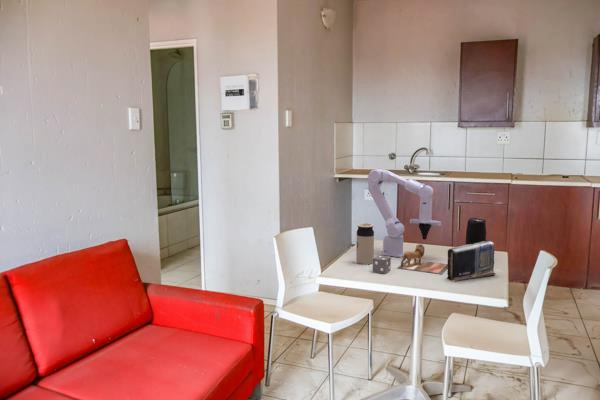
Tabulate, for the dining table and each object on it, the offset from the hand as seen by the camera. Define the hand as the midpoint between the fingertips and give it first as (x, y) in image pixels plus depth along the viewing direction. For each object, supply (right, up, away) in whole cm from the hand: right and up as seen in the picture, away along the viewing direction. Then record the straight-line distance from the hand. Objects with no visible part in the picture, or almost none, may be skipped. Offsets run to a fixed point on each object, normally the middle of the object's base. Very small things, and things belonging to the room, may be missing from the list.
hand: (424, 239), depth 241 cm
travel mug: (-29, -11, -5) cm, 32 cm away
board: (-3, -11, -13) cm, 18 cm away
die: (-24, -13, -20) cm, 34 cm away
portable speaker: (+24, -10, -1) cm, 26 cm away
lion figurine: (-8, -11, -11) cm, 17 cm away
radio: (+12, -14, -29) cm, 34 cm away
